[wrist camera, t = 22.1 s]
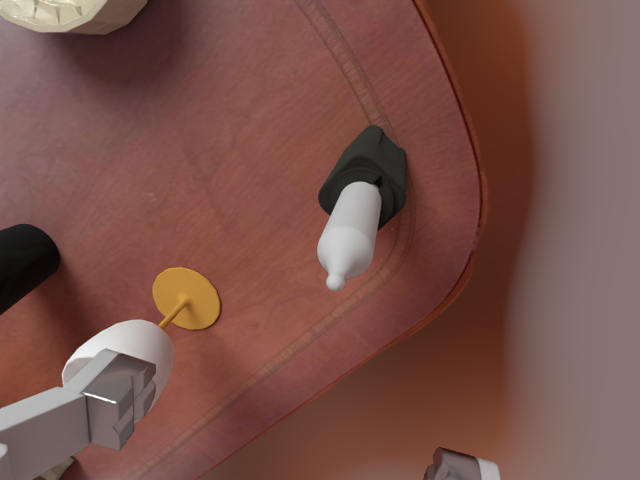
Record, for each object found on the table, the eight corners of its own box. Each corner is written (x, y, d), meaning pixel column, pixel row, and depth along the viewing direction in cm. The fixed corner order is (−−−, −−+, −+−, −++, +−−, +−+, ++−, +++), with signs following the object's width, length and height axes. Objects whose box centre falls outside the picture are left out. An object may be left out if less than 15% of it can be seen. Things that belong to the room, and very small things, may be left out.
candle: (411, 157, 40) (418, 290, 18) (373, 193, 42) (338, 352, 20) (373, 120, 39) (330, 209, 17) (337, 158, 42) (256, 283, 19)
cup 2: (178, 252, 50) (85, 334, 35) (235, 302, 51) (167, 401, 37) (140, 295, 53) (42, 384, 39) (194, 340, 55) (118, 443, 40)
